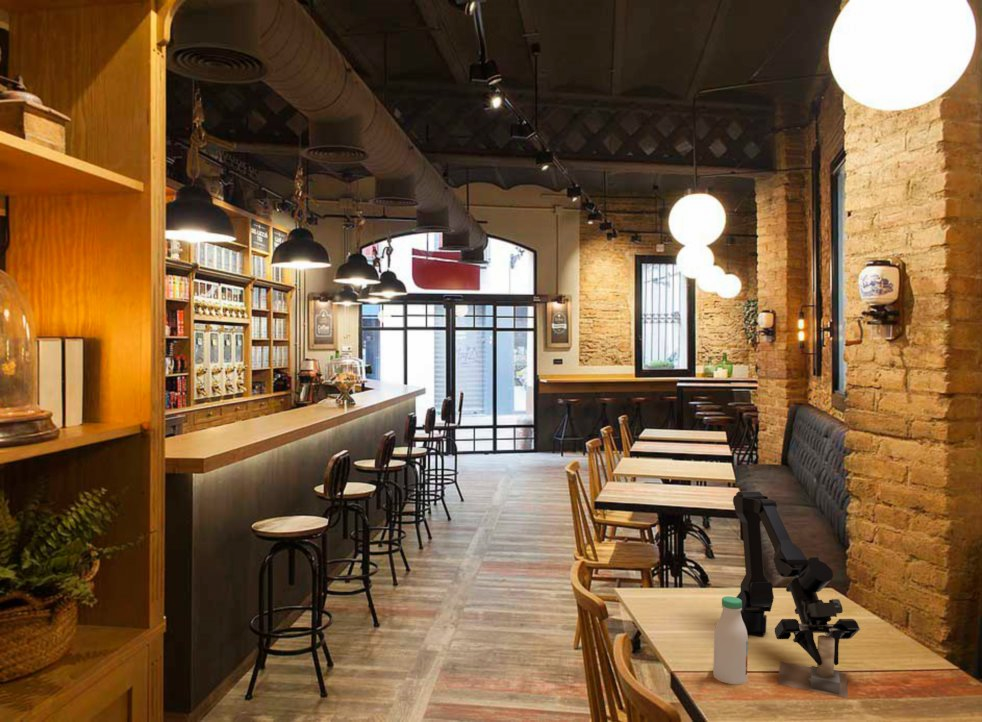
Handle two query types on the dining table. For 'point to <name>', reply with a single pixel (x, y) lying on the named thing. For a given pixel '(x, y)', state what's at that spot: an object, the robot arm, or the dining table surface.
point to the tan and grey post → (825, 667)
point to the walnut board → (806, 679)
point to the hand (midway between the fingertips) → (828, 664)
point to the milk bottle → (731, 644)
